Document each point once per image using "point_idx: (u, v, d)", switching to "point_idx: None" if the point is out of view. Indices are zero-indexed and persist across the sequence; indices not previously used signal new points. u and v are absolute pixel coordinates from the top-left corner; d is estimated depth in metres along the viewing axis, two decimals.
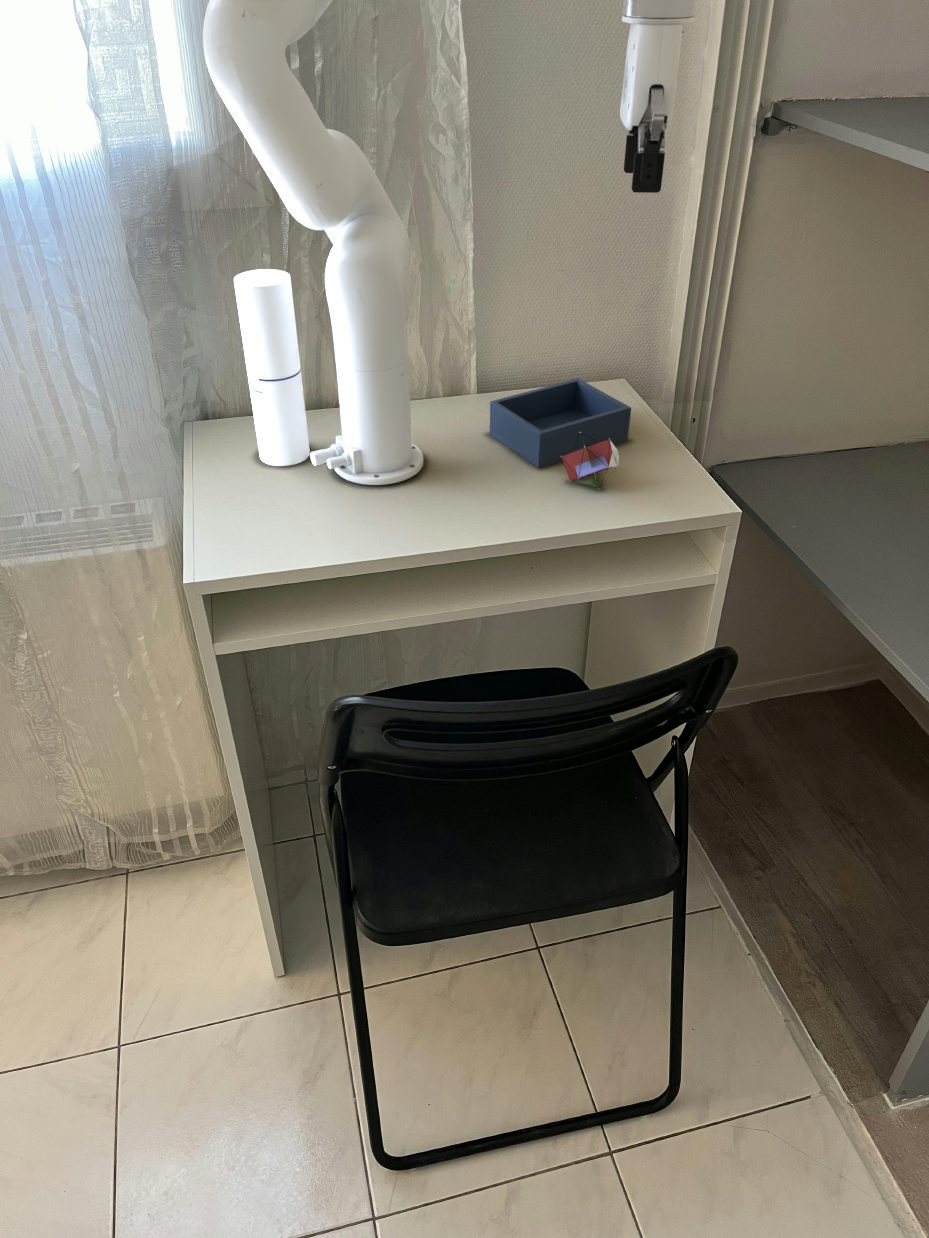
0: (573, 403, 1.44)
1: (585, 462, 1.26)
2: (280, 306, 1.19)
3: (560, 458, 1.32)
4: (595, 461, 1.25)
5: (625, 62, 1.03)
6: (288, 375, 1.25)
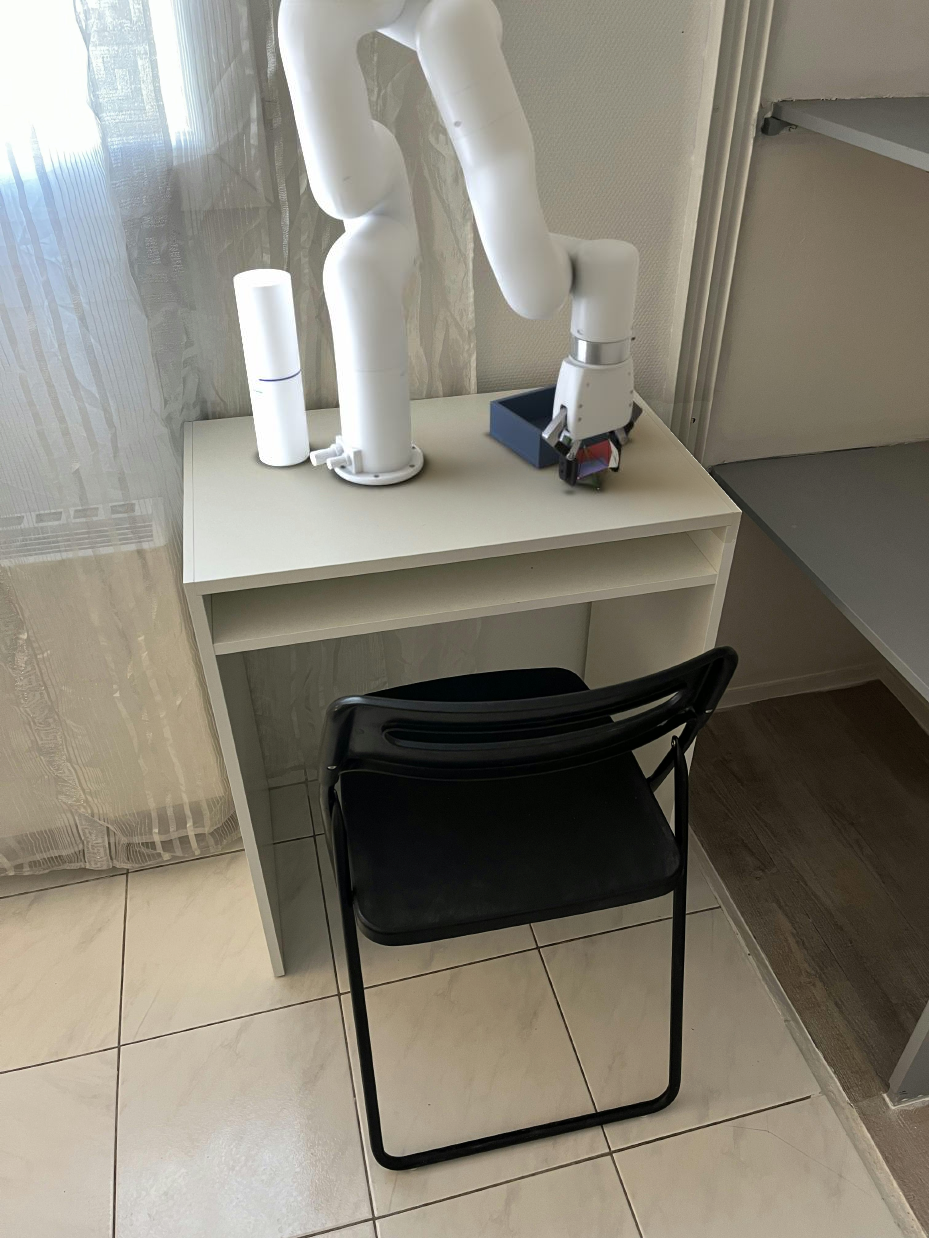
0: None
1: (585, 462, 1.26)
2: (280, 306, 1.19)
3: None
4: (594, 461, 1.25)
5: None
6: (288, 375, 1.25)
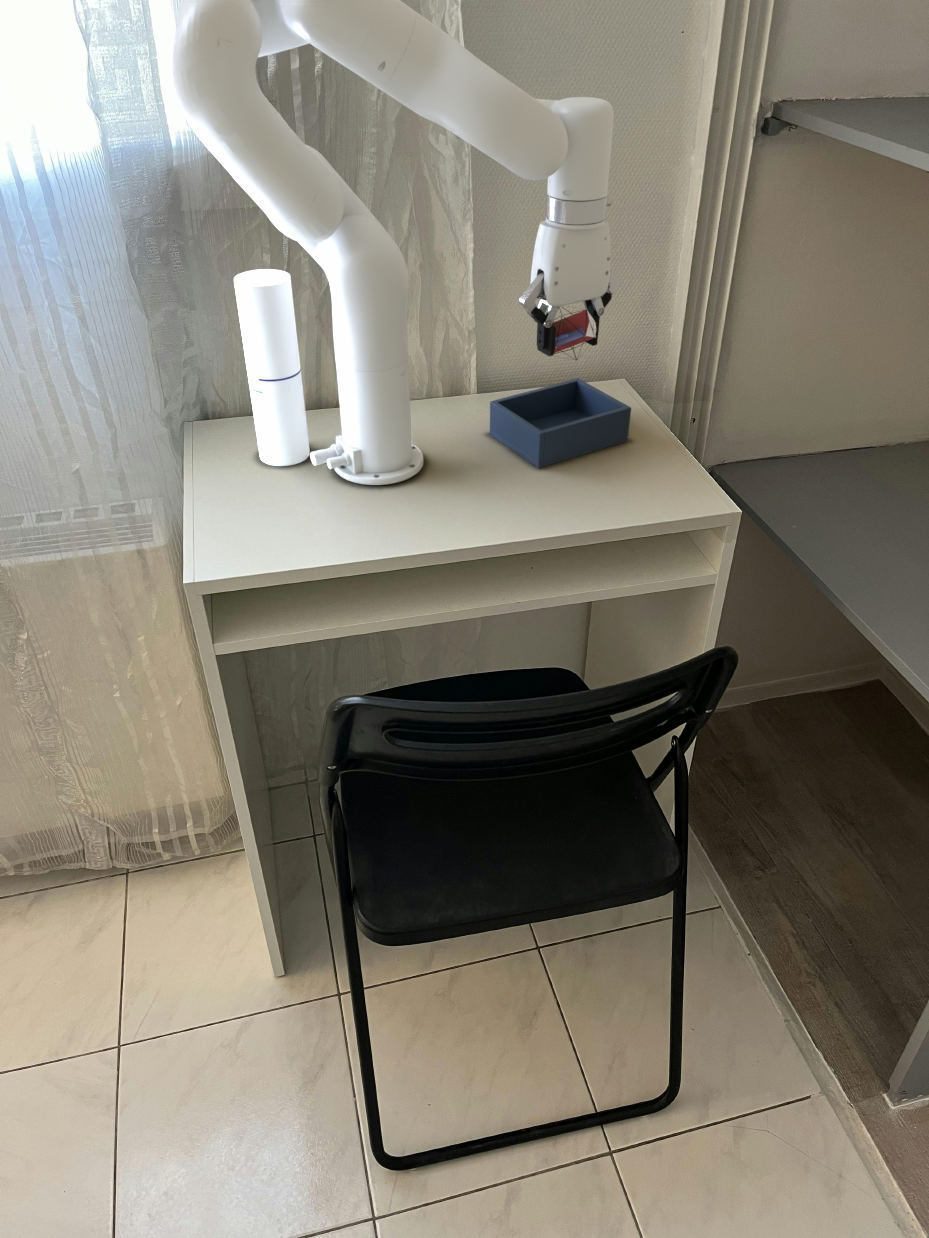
0: (573, 403, 1.44)
1: (563, 334, 1.27)
2: (280, 306, 1.19)
3: (560, 458, 1.32)
4: (572, 332, 1.27)
5: None
6: (288, 375, 1.25)
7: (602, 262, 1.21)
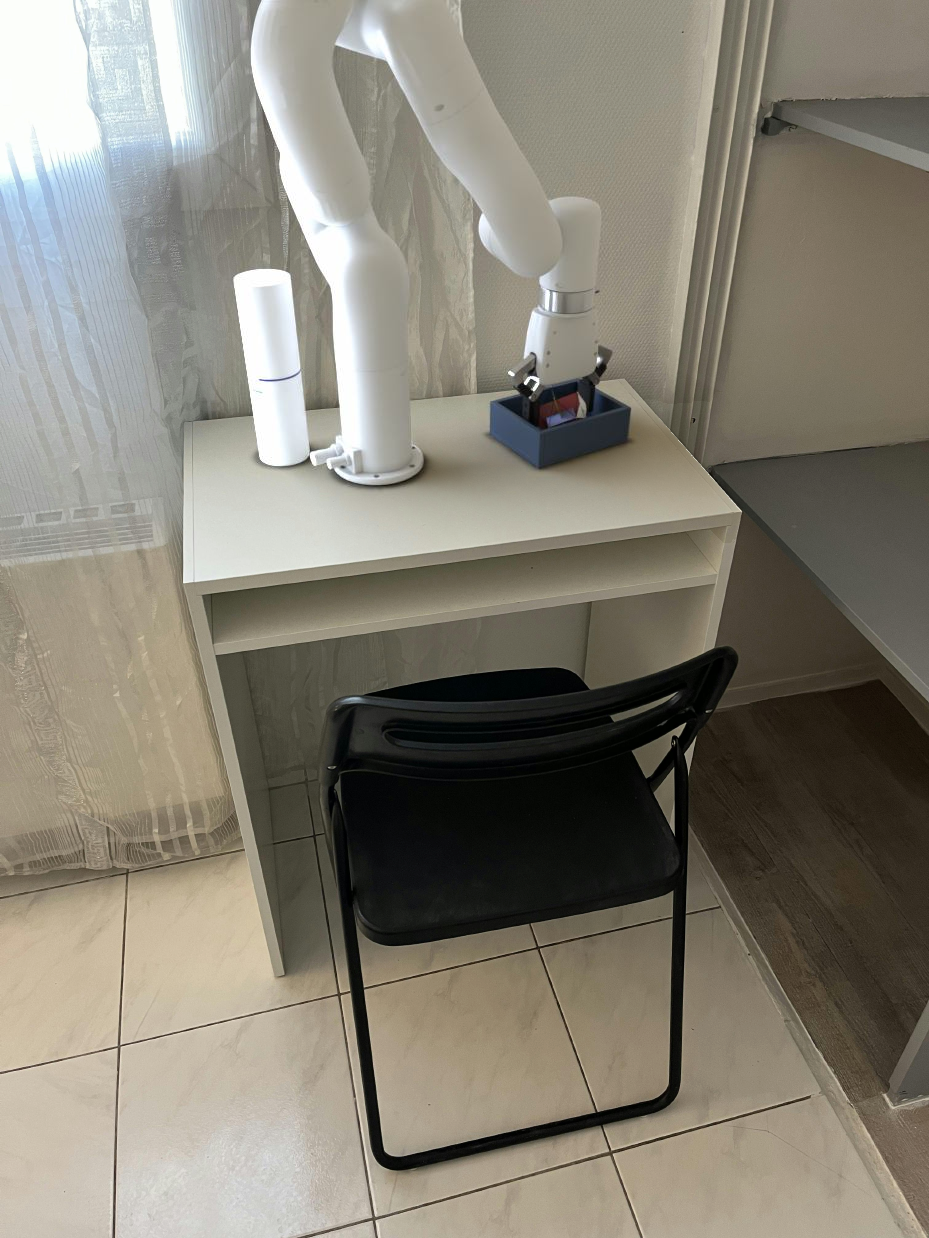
0: None
1: (555, 414, 1.36)
2: (280, 306, 1.19)
3: (560, 458, 1.32)
4: (564, 413, 1.35)
5: None
6: (288, 375, 1.25)
7: (591, 345, 1.30)
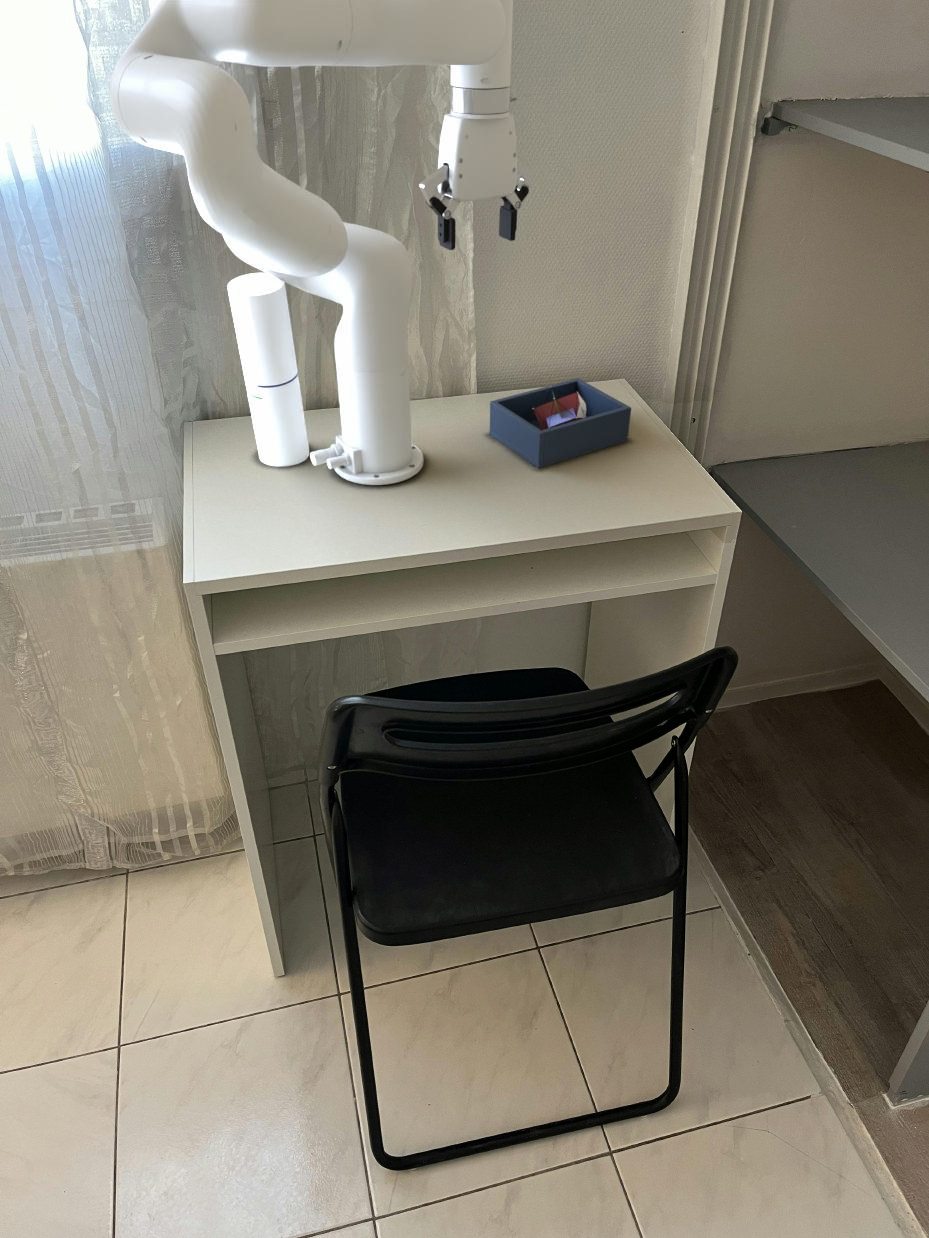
0: None
1: (555, 414, 1.36)
2: (277, 313, 1.18)
3: (560, 458, 1.32)
4: (564, 413, 1.35)
5: None
6: (287, 380, 1.24)
7: (508, 158, 1.22)
